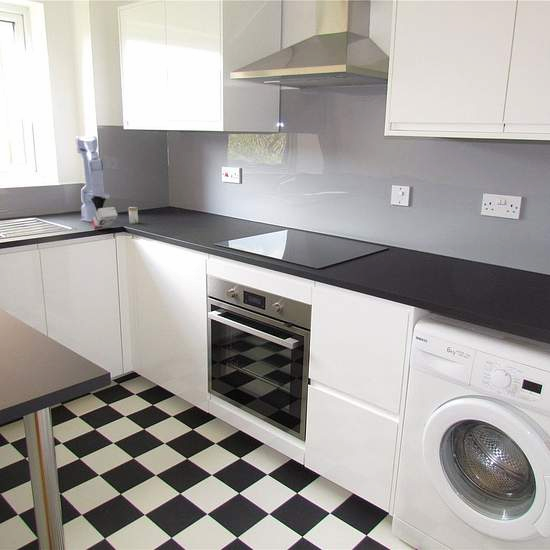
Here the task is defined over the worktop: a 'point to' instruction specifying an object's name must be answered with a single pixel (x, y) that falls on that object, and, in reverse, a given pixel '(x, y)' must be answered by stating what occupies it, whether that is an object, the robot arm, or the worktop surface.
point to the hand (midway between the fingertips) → (99, 212)
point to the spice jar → (133, 215)
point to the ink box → (104, 217)
